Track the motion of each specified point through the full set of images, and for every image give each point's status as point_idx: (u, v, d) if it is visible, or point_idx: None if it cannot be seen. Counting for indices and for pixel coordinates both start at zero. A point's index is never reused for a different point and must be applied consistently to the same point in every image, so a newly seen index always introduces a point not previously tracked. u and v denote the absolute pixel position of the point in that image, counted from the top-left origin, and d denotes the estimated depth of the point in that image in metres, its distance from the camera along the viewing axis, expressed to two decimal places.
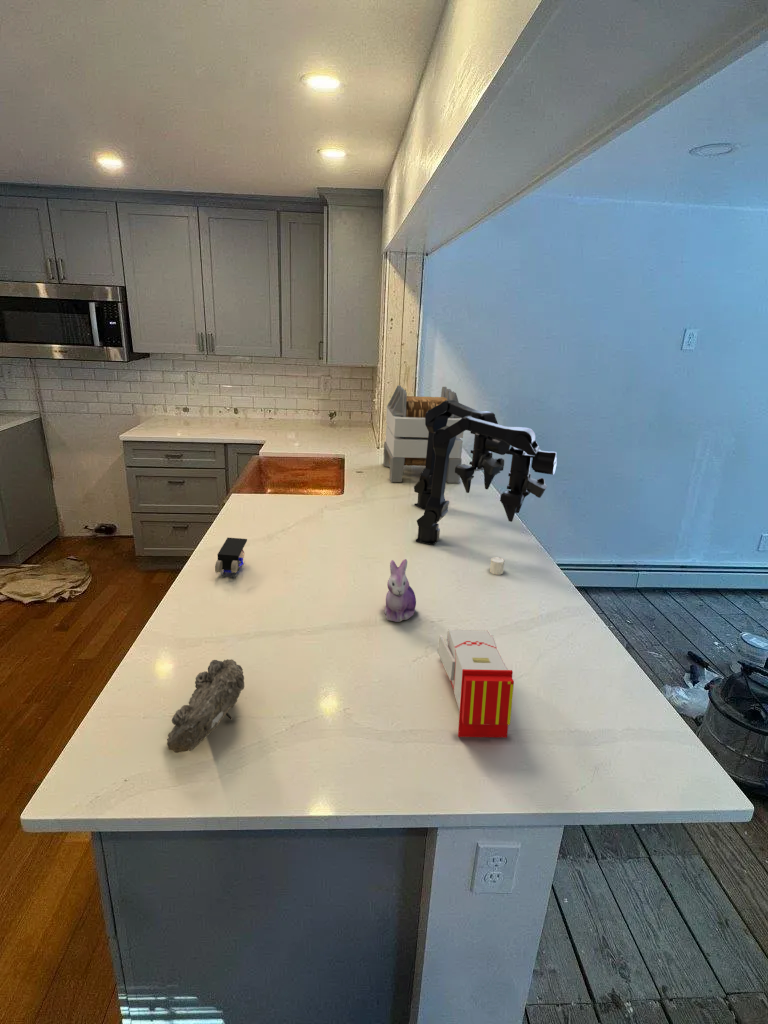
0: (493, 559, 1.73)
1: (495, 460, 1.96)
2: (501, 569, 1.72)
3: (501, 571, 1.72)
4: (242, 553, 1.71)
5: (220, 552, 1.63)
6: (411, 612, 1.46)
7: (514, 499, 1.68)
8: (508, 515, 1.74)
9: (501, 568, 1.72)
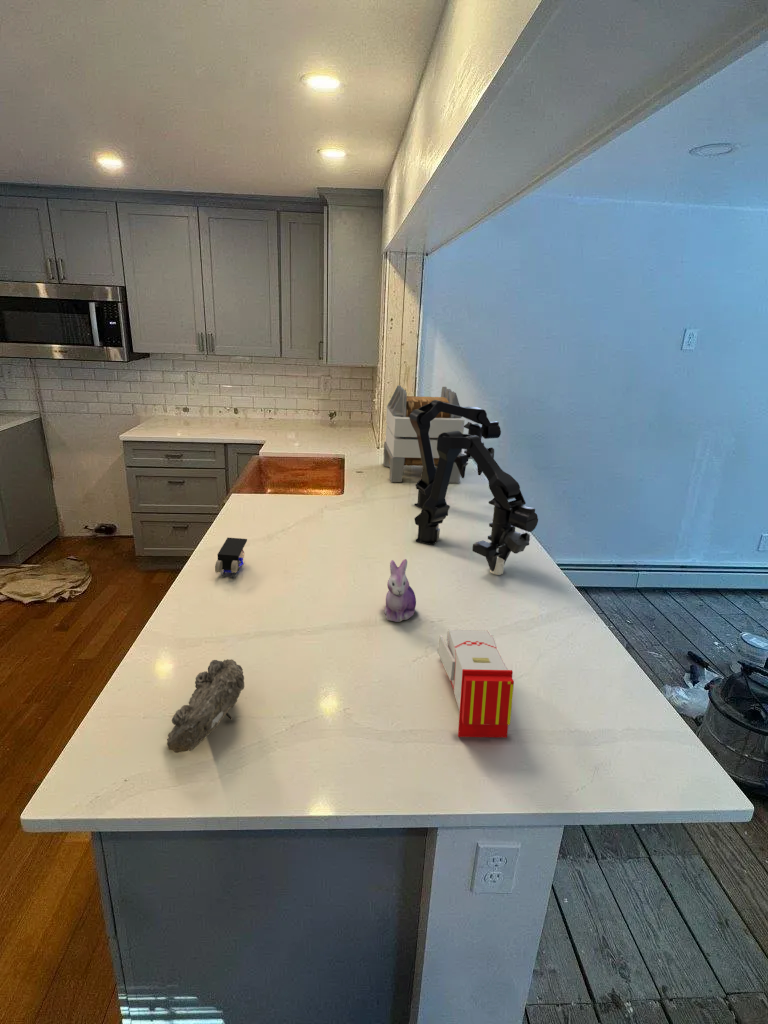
0: None
1: None
2: (501, 569, 1.72)
3: (501, 571, 1.72)
4: (242, 553, 1.71)
5: (220, 552, 1.63)
6: (411, 612, 1.46)
7: (483, 550, 1.64)
8: (489, 564, 1.72)
9: (501, 568, 1.72)
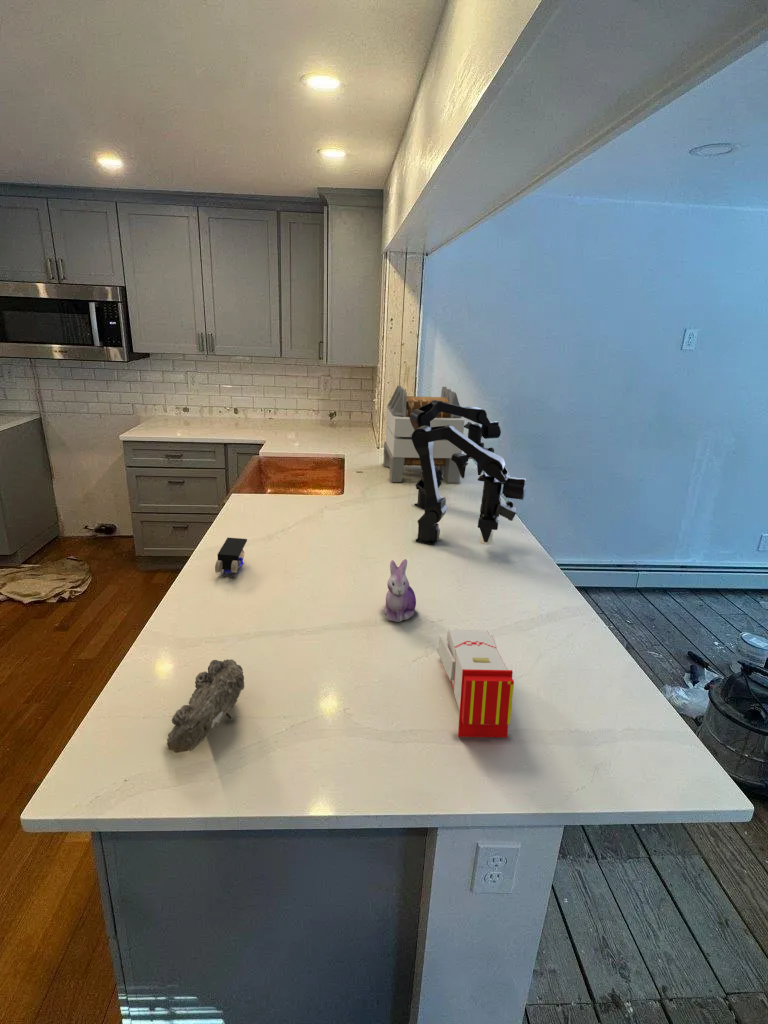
0: None
1: (486, 449, 2.26)
2: None
3: None
4: (242, 553, 1.71)
5: (220, 552, 1.63)
6: (411, 612, 1.46)
7: (492, 524, 1.76)
8: (484, 536, 1.85)
9: (492, 537, 1.87)
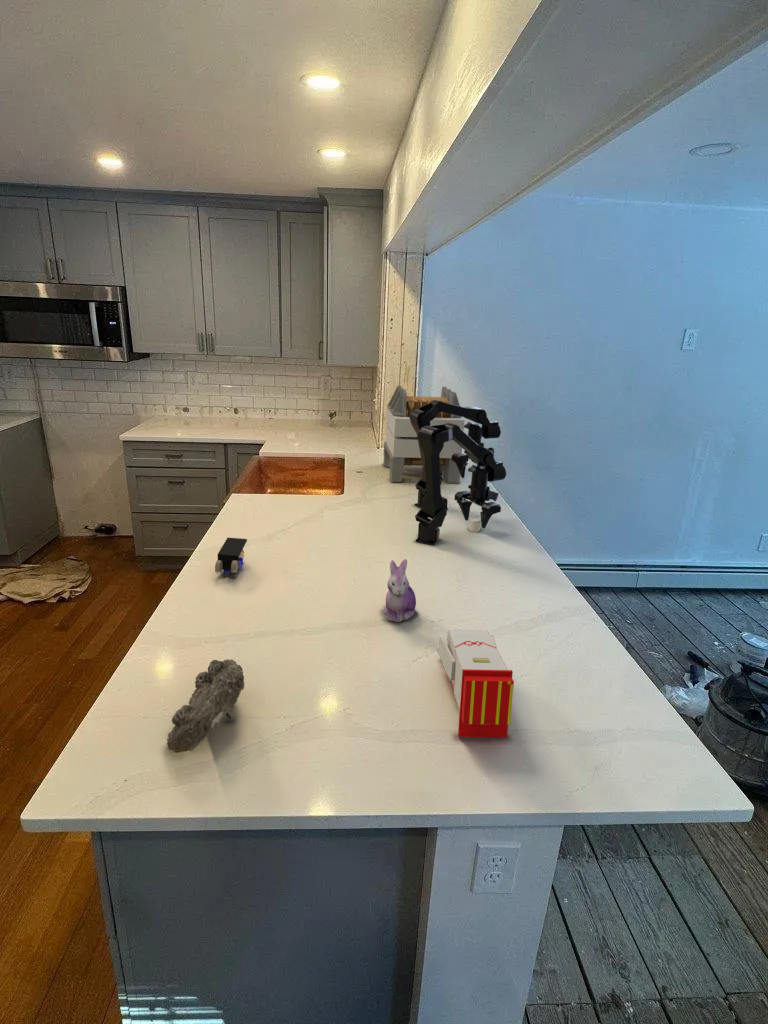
0: (475, 520, 2.04)
1: None
2: None
3: None
4: (242, 553, 1.71)
5: (220, 552, 1.63)
6: (411, 612, 1.46)
7: (498, 508, 1.97)
8: (484, 523, 2.01)
9: None
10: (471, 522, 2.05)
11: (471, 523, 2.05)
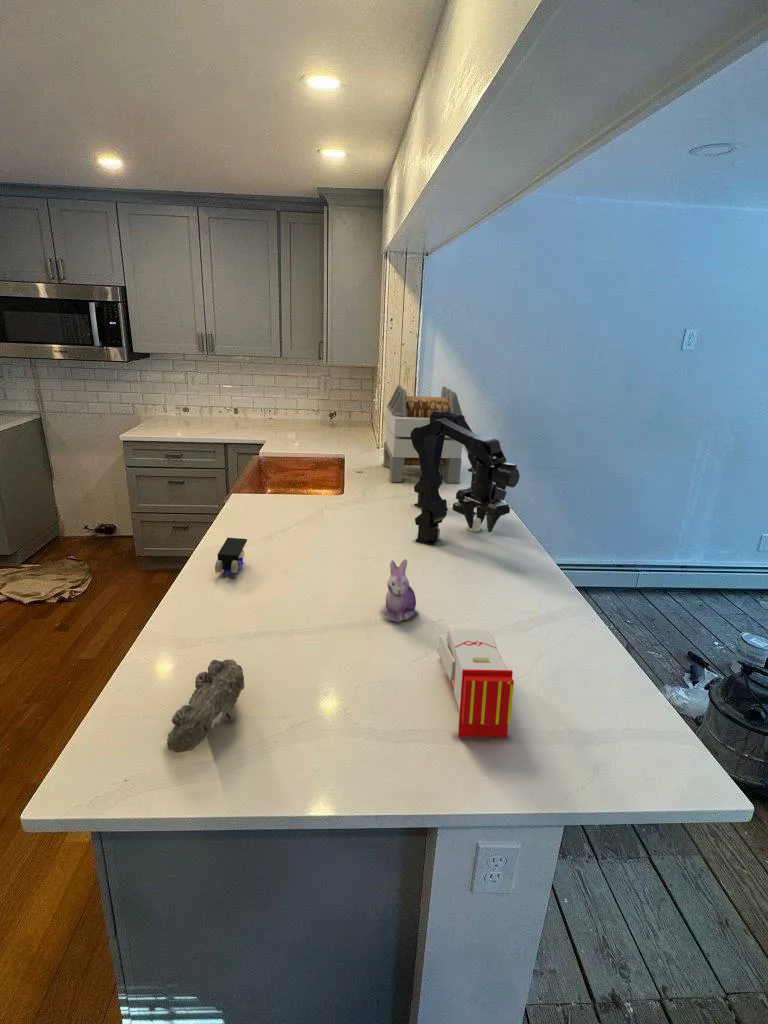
0: (475, 520, 2.04)
1: None
2: None
3: None
4: (242, 553, 1.71)
5: (220, 552, 1.63)
6: (411, 612, 1.46)
7: (507, 508, 1.69)
8: (490, 526, 1.73)
9: None
10: None
11: None
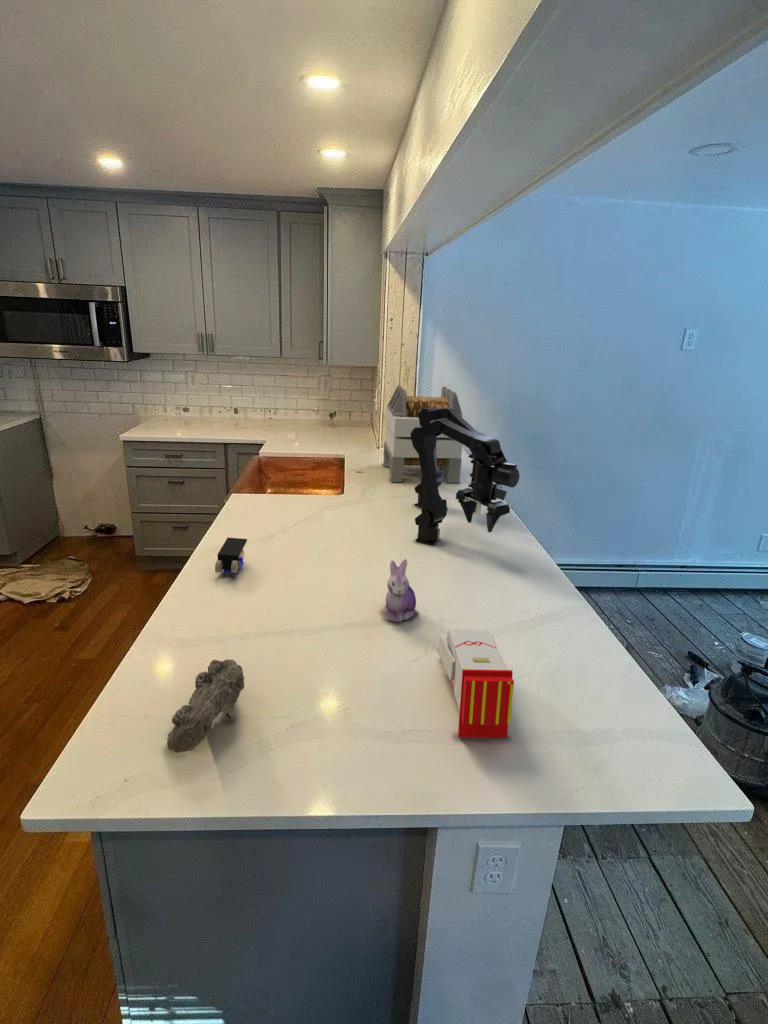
0: (477, 504, 2.12)
1: None
2: None
3: None
4: (242, 553, 1.71)
5: (220, 552, 1.63)
6: (411, 612, 1.46)
7: (507, 508, 1.69)
8: (490, 526, 1.73)
9: None
10: None
11: None
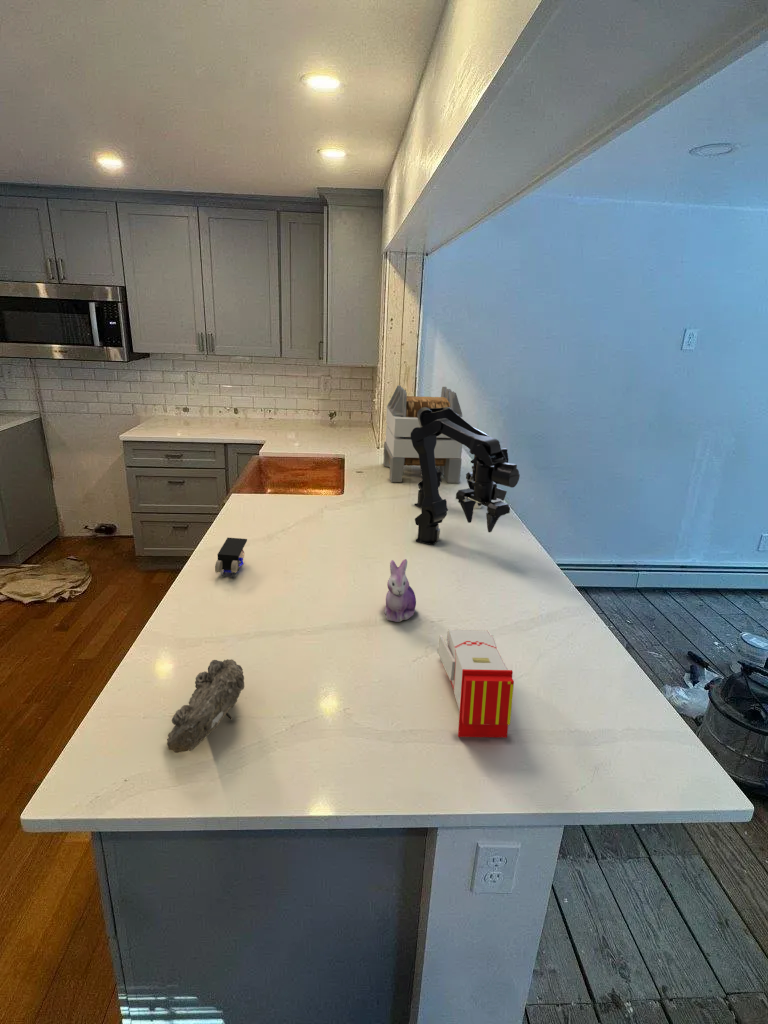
0: None
1: None
2: None
3: None
4: (242, 553, 1.71)
5: (220, 552, 1.63)
6: (411, 612, 1.46)
7: (507, 508, 1.69)
8: (490, 526, 1.73)
9: None
10: None
11: None
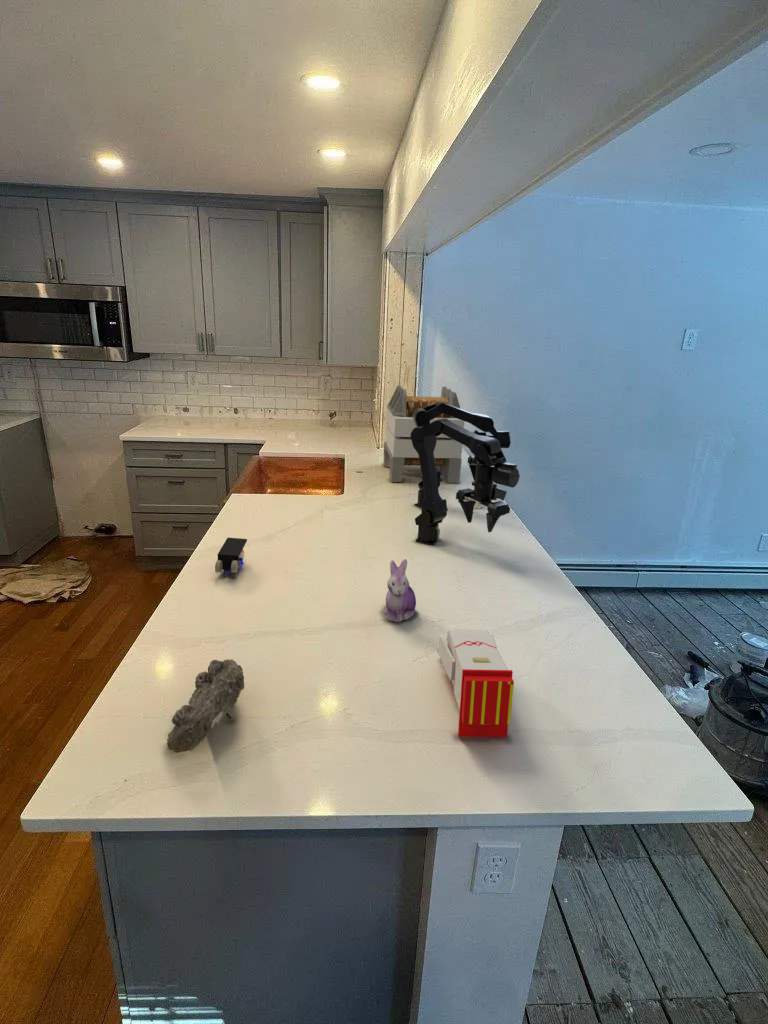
0: None
1: None
2: None
3: None
4: (242, 553, 1.71)
5: (220, 552, 1.63)
6: (411, 612, 1.46)
7: (507, 508, 1.69)
8: (490, 526, 1.73)
9: None
10: None
11: None
